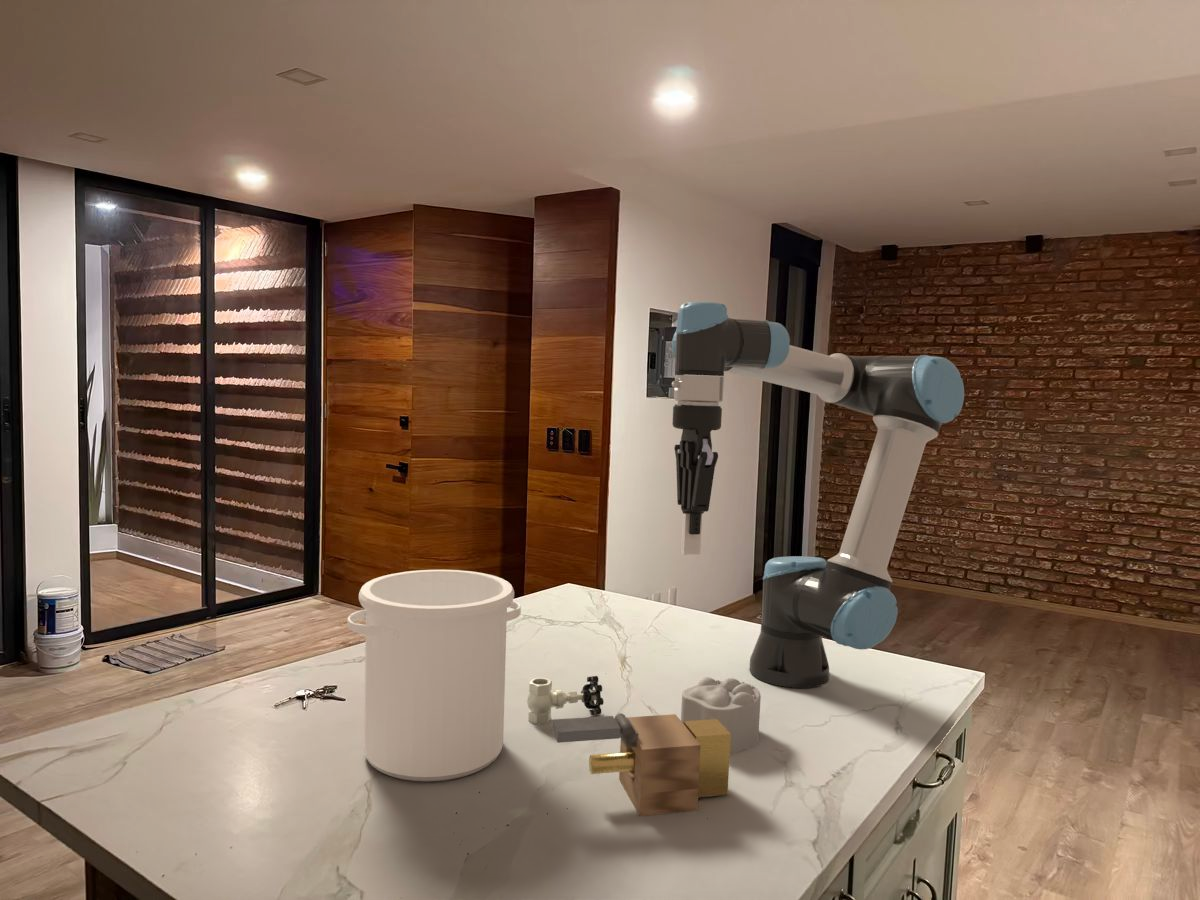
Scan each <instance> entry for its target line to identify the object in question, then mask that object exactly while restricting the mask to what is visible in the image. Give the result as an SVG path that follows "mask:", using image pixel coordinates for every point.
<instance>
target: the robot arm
mask: <svg viewBox="0 0 1200 900" xmlns="http://www.w3.org/2000/svg"><path fill="white" fill-rule="evenodd" d="M676 319H677V320H676V321H677V322H676V330H675V332H674V334H673V337H672V340H671V350H672V354H673V356H674V358H675V363H674V364H675V366H674V368H675V369H674V380H673V381H672V382H671V386H672V388H674V391H673V393H674V394H673V399H674V401H677V404H676V403H675V404H674V405H673V406H672V427H674V428H675V429H677V430H678V429H679V430H682V433H681V437H680V441H679V444H675V445H674V447H673V448H674V449H673V450H674V453H675V461H676V462H675V465H676V470H675V471H676V492H677V493H676V496H677V505H678V506H680V508H681V511H682V515H681V516H682V518H681V521H682V522H681V537H680V541H681V542H680V553H681V554H682V555H685V556H686V555H689V556H691V555H701V547H702V546H701V545H702V543H701V541H702V524H703V523H702V521H703V514H704V513H705V512H709V510H710V509H709V508H710V502H711V496H712V489H713V483H714V475H715V469H716V464H717V462H718V459H719V454H718V452H717V451H712V450H713V443H712V437H711V436H712V435H711V434H712V433H711V432H712V431H718V430H720V429H721V428H722V415H723V407H721V405H720V403H722V402H723V400H724V386H725V385H724V383H725V375H724V374H725V372H726V373H729V374H733V375H737V376H743V377H745V378H748V379H749V378H750V379H753V380H758V381H762V382H766V383H770V384H773V385H774V384H775V385H778V386H782V387H787V388H790V389H794V390H799V391H803V392H807V393H810V394H815V395H817V396H818V397H819V399H821V401H823V402H825V403H829V404H833V405H837V406H839V407H844V408H847V409H850V410H852V411H855V412H858V413H862V414H865V415H868V416H872V421H873V423H874V424H875V426H876V428H877V431H876V436H875V439H874V441H873V444H872V448H871V451H870V454H869V458H868V461H867V463H866V467H865V470H864V472H863V476H862V479H861V484H860V486H859V488H858V492H857V496H856V498H855V502H854V504H853V507H852V511H851V514H850V517H849V521H848V522H847V523H848V524H847V527H846V530H845V533H844V537H843V539H842V542H841V545H840V549H839V552H838V553H837V554H836V555H834V556H832V557H831V558H829V559H827V560H826V559H825V558H823V557H818V556H817V557H816V556H805V555H803V556H802V555H801V556H800V555H799V556H798V555H797V556H796V555H795V556H794V555H793V556H791V555H790V556H789V555H788V556H778V557H773V558H771V559H769V560H767V562H766V563H765V565H764V571H763V576H762V593H761V594H762V597H761V599H762V600H761V621H760V622H761V623H760V624H761V625H760V632H759V636H758V638H757V640H756V643H755V645H754V648H753V650H752V653H751V655H750V659H749V673H750V674H751V675H752V676H753V677H755V678H757V679H758V680H760V681H762V682H765V683H767V684H772V685H775V686H779V687H785V688H796V689H804V688H805V689H808V688H816V687H820V686H823V685H825V684H827V682H828V681H829V679H830V666H829V661H828V657H827V654H826V650H825V645H824V642H823V638H826V639H829V640H831V641H834V642H835V643H836V644H838V645H842V646H843V647H849V648H852V649H855V650H868V649H871V648H874V647H876V646H877V645H878V644H880V643H882V642H883V641H884V640H885V639H886V638H887V637H888V636H889V634H890V633H891V632H892V629H893V628H894V626H895V624H896V621H897V617H898V612H899V611H898V609H899V608H898V606H897V603H898V602H897V599H896V596H895V595H894V594H893V593H892V591H891V586H892V584H893V579H892V577H891V576H890V573H889V572H888V566H889V562H890V560H891V556H892V553H893V550H894V547H895V544H896V540H897V537H898V534H899V531H900V527H901V524H902V522H903V518H904V515H905V512H906V508H907V505H908V502H909V499H910V495H911V492H912V489H913V486H914V482H915V480H916V476H917V474H918V470H919V467H920V463H921V460H922V457H923V453H924V450H925V449H926V445H927V443H928V442H930V441H932V440H934V439H936V438H937V437H938V436H939V432H940V430H941V426H942V424H947V423H949V422H952V421H953V420H954V419H955V418H957V417H958V415H959V414H960V413H961V410H962V408H963V405H964V400H965V388H964V381H963V379H962V377H961V373H960V371H959V369H958V368H957V366H956V365H955V364H954V363H953V362H952V361H950V360H949V359H948V358H945V357H942V356H932V355H931V356H930V355H928V354H922V355H921V354H920V355H866V356H865V355H864V356H863V355H862V356H861V355H857V356H855V355H848V354H844V353H839V352H837V353H831V354H830V355H828V354H824V353H820V352H817V351H813V350H809V349H805V348H802V347H798V346H795V345H791V344H790V341H791V340H790V339H791V338H790V335H789V332H788V330H787V328H786V327H785V326H784V325H783V324H782V323H779V322H776V321H774V322H773V321H769V320H768V319H765V320H755V319H740V318H739V319H737V318H730V317H729V315H728V307H727V306H726V304H723V303H720V302H710V301H691V302H689V301H688V302H684V303H683V304H681V305H680V306H679V309H678V315H677V318H676Z"/></svg>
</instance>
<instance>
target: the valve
mask: <svg viewBox="0 0 1200 900" xmlns="http://www.w3.org/2000/svg"><path fill="white" fill-rule="evenodd" d="M586 682H587V684H584V686H583V687H582V688H581V689H582V690H581V691H580V693H578V692H577V691H569V692H567V694H566V693H565V692H563V690H562V689H554V690H553V692H552V688H553V681H552V680H551V679H549V678H546V677H535V678H532V679H531V680H530V681H529V685H528V686H529V690H528V692H529V694H528V696H527V700H526V701H527V707H528V709H529V711H528V722H530V723H532V724H535V725H543V724H549V723H550V721H551V720H552V708H555V709H556V710H559V709H563V708H564V705H566V704H567V703H568V704H576V703H578V701H581V702H582V703H583V704H584V705H583V706H584V707H585V708H586V709H589V714H590V715H591V716H592V715H595V716H598V715H602V708H601V706H603V705H604V698H603V697H601V693H602V692H603V685H602V684H599V676H598V675H591V676H587V678H586Z"/></svg>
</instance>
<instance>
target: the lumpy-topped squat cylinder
mask: <svg viewBox="0 0 1200 900" xmlns="http://www.w3.org/2000/svg"><path fill="white" fill-rule="evenodd" d="M761 699H762V698H761V693H760V690H759V689H758V688H757V687H756V686H755V685H752V684H749V683H746V682H745V681H742V682H740V681H739V680H738V679H736V678H734V677H729V678H726V679H724V680H722V681H720V680H719V679H716V680H715V679H714V678H713V677H709V676H706V677H703V678H701V679H700V680H699V682H698V683H697V685H694V686H691V687H689V688H687V689H684V690H683V692H682V694H681V707H680V708H681V709H680V711H681V712H680V720H681V722H682V723H684V721H695V720H709V719H717V720H718V721H719V722H720V723H721V724H722V725H723V726H724V727H725V728H726V729H727V730H728V732H729V733H730V734H731V740H730V755H733V754H737V753H740V752H742V751H746V750H748V749H750V748H753V747H754V746H755V745H756V744H757V742H758V740H759V736H760V735H759V734H760V733H759V732H760V716H761V715H760V714H761Z"/></svg>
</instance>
